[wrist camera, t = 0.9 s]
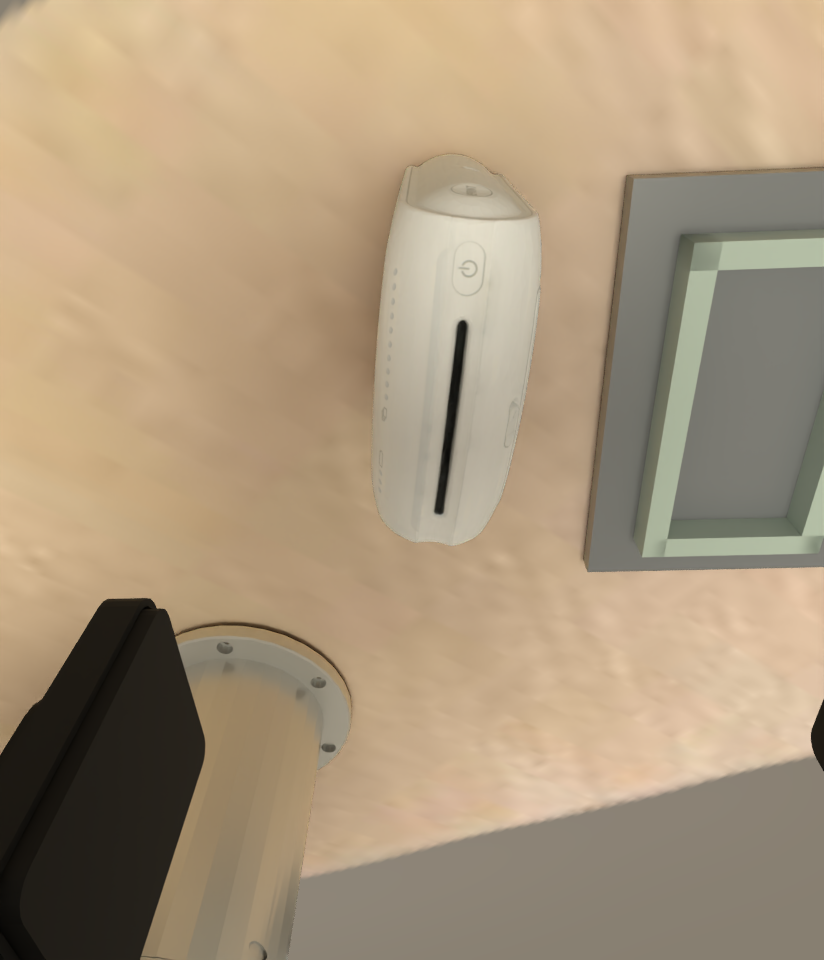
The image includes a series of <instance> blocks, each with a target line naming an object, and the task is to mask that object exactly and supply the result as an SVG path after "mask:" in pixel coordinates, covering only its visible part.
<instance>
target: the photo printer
mask: <svg viewBox="0 0 824 960" xmlns="http://www.w3.org/2000/svg"><path fill="white" fill-rule="evenodd" d="M540 277H541V233H540V221H539V215H538V213H537V212H536V211H535V210H534V209H533V208H532V207H531V205H530V204H529V203H528V202H527V201H526V200H525V199H524V198H523V197H522V196H521V195H520V194H519V193H518V191H517V190H516V189H515V188H514V187H513V186H512V185H511V184H510V182H509V181H508V180H507V179H506V178H505V177H504V176H503V175H496V174H491V173H490V172H489V171H488V170H487V169H486V168H485V167H484V166H483V165H482V164H481V163H479V162H478V161H476V160H474V159H472V158H470V157H467V156H464V155H458V154H446V155H440V156H437V157H434V158H432V159H430V160H428V161H426V162H424V163H423V164H422V165H420V166H418V167H416V166H412V165H410V166H408V167H407V169H406V171H405V174H404V177H403V180H402V184H401V187H400V190H399V194H398V198H397V202H396V206H395V210H394V214H393V219H392V224H391V228H390V233H389V238H388V242H387V248H386V255H385V263H384V272H383V281H382V290H381V300H380V311H379V322H378V334H377V347H376V362H375V379H374V397H373V419H372V484H373V492H374V497H375V501H376V505H377V509H378V512H379V515H380V517H381V519H382V520H383V522H384V523H385V524H386V526H388V527H389V528H390V529H391V530H392V531H393V532H395V533H396V534H398V535H399V536H401V537H403V538H405V539H407V540H410V541H412V542H415V543H418V542H438V543H443V544H446V545H449V546H455V545H459V544H462V543H465V542H467V541H469V540H471V539H473V538H475V537H476V536H477V535H479V534H480V533H481V532H482V530H483V529H484V528H485V526H486V525H487V523H488V521H489V519H490V518H491V516H492V514H493V512H494V510H495V508H496V506H497V505H498V503H499V501H500V499H501V496H502V493H503V490H504V487H505V483H506V479H507V476H508V473H509V469H510V465H511V461H512V456H513V452H514V448H515V444H516V439H517V435H518V430H519V426H520V421H521V416H522V411H523V406H524V401H525V396H526V390H527V385H528V379H529V373H530V367H531V361H532V354H533V348H534V341H535V334H536V327H537V319H538V310H539V302H540V290H541V288H540Z"/></svg>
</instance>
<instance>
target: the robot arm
mask: <svg viewBox="0 0 824 960" xmlns="http://www.w3.org/2000/svg"><path fill="white" fill-rule="evenodd" d="M351 715H352V707H351V699H350V695H349V692H348V690H347V687H346V685H345V682H344V681H343V679H342V678H341V677H340V675H339V674H338V672H337V671H336V669H335V668H334V667H333V666H332V665H331V664H330V663H329V662H328V661H326V660H325V659H324V658H323V657H322V656H321V655H320V654H318V653H317V652H315V651H314V650H312V649H311V648H309V647H308V646H306V645H305V644H302V643H300V642H298V641H296V640H294V639H292V638H290V637H287V636H285V635H282V634H278V633H275V632H272V631H268V630H265V629H259V628H253V627H247V626H214V627H206V628H199V629H196V630H193V631H189V632H186V633H183V634H180V635H178V636H176V637H175V635H174V631H173V628H172V625H171V621H170V618H169V615H168V613H167V611H166V610H165V609H157V608H156V606H155V604H154V602H153V601H152V600H151V599H148V598H135V599H107V600H105V601H103V603H102V604H101V605H100V606H99V608H98V609H97V611H96V612H95V614H94V616H93V617H92V619H91V621H90V622H89V624H88V625H87V627H86V629H85V630H84V632H83V634H82V635H81V637H80V639H79V640H78V642H77V643H76V645H75V647H74V648H73V650H72V652H71V653H70V655H69V656H68V658H67V660H66V661H65V663H64V665H63V666H62V668H61V670H60V671H59V673H58V674H57V676H56V678H55V679H54V681H53V683H52V684H51V686H50V687H49V689H48V691H47V692H46V694H45V696H44V697H43V699H42V700H40V701H39V702H37V703H36V704H34V705H33V706H32V708H31V709H30V710H29V711H28V713H27V714H26V715H25V716H24V718H23V720H22V721H21V723H20V724H19V726H18V728H17V729H16V731H15V732H14V734H13V736H12V737H11V739H10V740H9V742H8V744H7V745H6V747H5V748H4V750H3V752H2V753H1V755H0V960H287V959H288V954H289V947H290V941H291V934H292V928H293V920H294V915H295V909H296V902H297V896H298V889H299V883H300V876H301V870H302V863H303V857H304V850H305V844H306V837H307V831H308V825H309V818H310V812H311V805H312V799H313V792H314V786H315V779H316V773H317V770H319V769H320V768H322V767H323V766H325V765H327V764H328V763H329V762H330V761H331V760H332V759H333V758H334V757H335V756H336V755H337V754H339V752H340V750H341V749H342V747H343V746H344V744H345V743H346V740H347V737H348V734H349V731H350V725H351ZM811 743H812V748H813V751H814V754H815V756H816V758H817V760H818V762H819V764H820V766H821V767H822V769H823V771H824V700H823V702H822V705H821V707H820V710H819V713H818V715H817V718H816V720H815V723H814V725H813V728H812V732H811Z"/></svg>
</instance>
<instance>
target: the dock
mask: <svg viewBox="0 0 824 960" xmlns="http://www.w3.org/2000/svg"><path fill="white" fill-rule="evenodd" d="M584 563H585V566H586V569H587V572H615V571H661V570H707V569H754V568H800V567H824V167H818V168H794V169H769V170H745V171H720V172H696V173H671V174H647V175H627V178H626V187H625V196H624V205H623V213H622V222H621V231H620V240H619V249H618V258H617V267H616V276H615V285H614V293H613V302H612V311H611V320H610V329H609V338H608V347H607V356H606V365H605V373H604V382H603V391H602V400H601V409H600V418H599V427H598V436H597V444H596V453H595V462H594V471H593V480H592V489H591V498H590V507H589V516H588V524H587V533H586V542H585V551H584Z"/></svg>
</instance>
